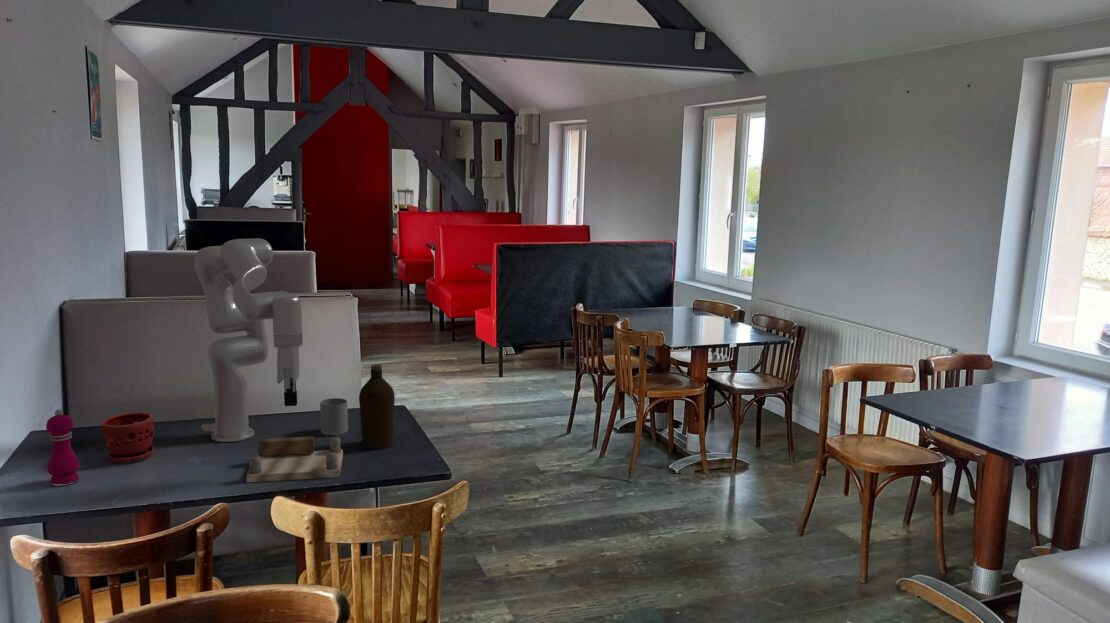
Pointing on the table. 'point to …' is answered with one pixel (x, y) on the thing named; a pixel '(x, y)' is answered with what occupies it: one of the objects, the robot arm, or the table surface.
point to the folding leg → (286, 446)
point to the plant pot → (129, 437)
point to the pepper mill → (62, 450)
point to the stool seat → (297, 465)
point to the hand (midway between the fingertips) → (291, 405)
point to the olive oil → (377, 411)
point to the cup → (334, 416)
